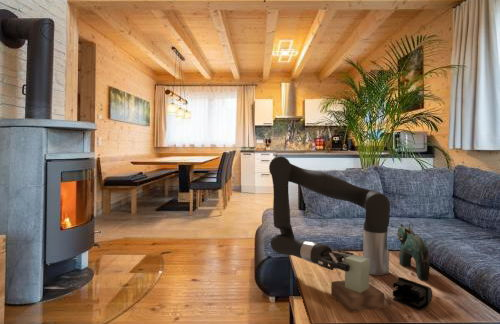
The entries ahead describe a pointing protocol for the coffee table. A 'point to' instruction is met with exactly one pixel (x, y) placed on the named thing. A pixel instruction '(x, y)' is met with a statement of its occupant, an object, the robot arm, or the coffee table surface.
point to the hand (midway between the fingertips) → (355, 265)
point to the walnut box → (357, 297)
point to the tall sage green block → (357, 273)
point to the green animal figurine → (413, 251)
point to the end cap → (412, 294)
